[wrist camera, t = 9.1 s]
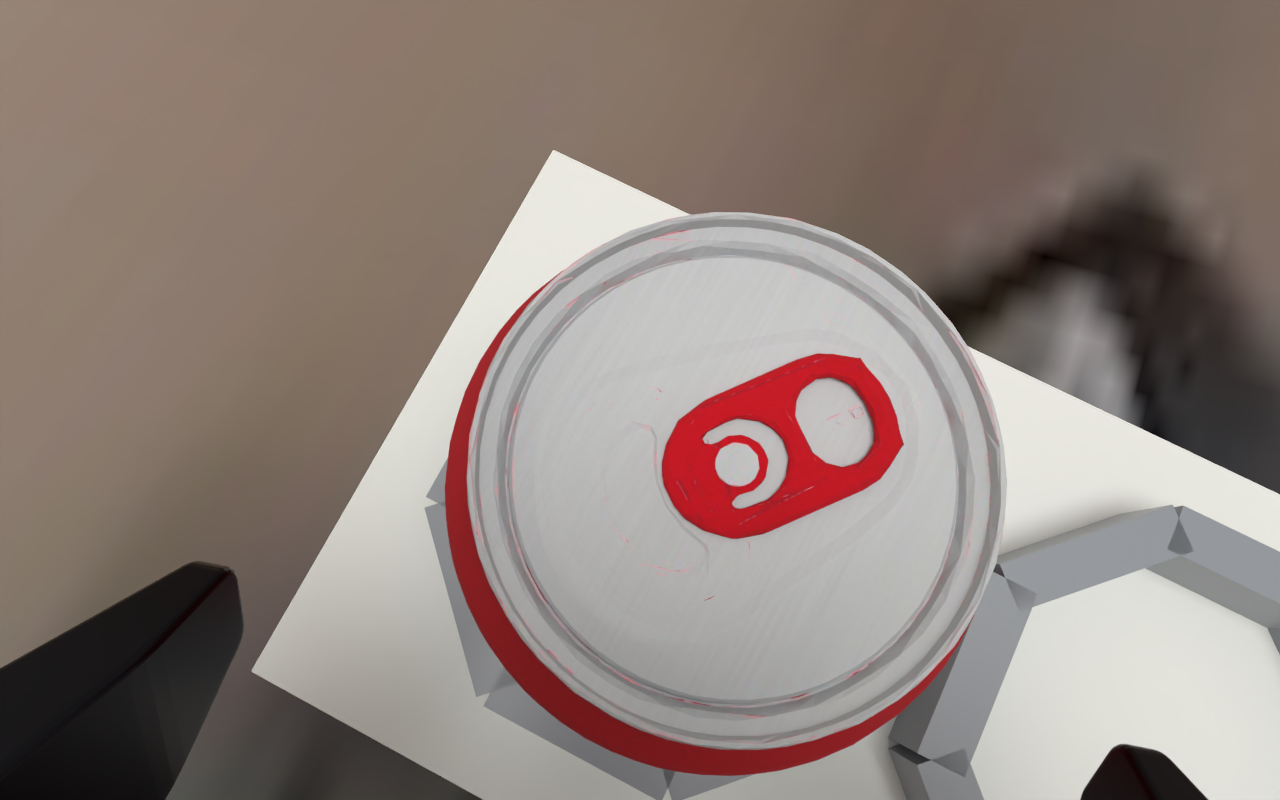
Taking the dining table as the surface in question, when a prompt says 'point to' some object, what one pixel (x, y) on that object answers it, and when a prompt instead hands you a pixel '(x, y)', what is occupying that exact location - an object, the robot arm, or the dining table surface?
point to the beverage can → (726, 493)
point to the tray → (957, 697)
